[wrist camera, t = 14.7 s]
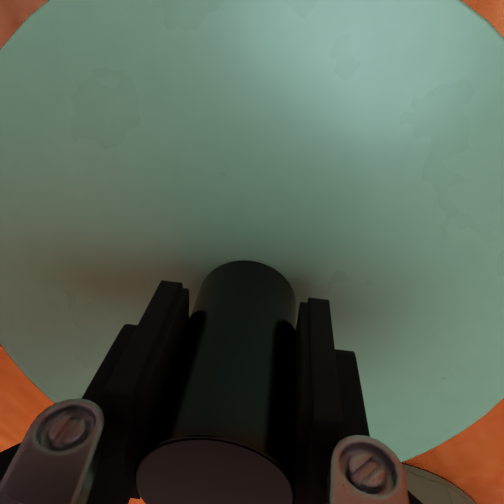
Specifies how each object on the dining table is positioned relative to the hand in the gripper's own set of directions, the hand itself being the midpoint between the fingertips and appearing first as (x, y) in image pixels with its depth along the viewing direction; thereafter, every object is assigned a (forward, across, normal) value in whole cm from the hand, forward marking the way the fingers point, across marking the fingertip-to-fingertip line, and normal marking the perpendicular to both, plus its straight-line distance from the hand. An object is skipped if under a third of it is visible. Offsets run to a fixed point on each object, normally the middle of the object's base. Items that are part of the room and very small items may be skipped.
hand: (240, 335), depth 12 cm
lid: (+2, 0, 0) cm, 2 cm away
